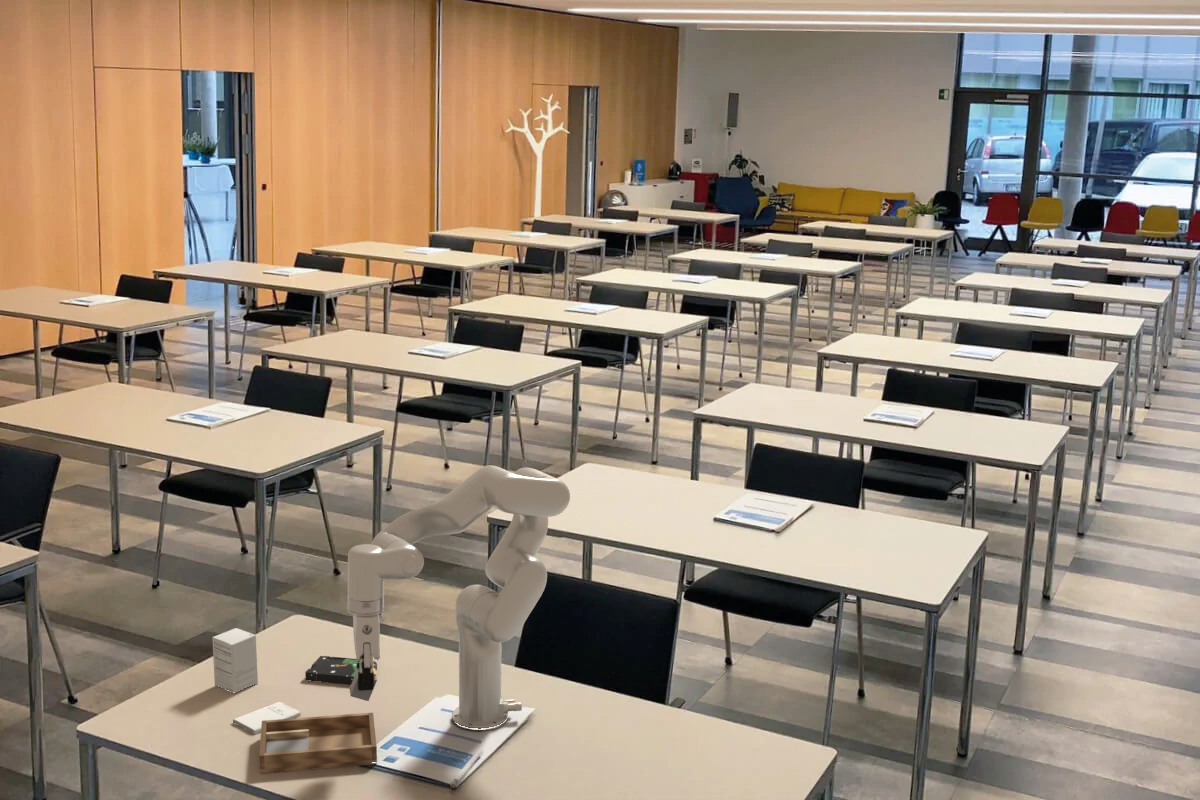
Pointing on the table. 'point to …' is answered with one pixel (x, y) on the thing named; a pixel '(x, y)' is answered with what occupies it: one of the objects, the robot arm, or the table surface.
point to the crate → (317, 742)
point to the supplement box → (235, 660)
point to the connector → (364, 693)
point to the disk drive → (334, 670)
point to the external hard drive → (266, 716)
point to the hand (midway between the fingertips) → (365, 684)
